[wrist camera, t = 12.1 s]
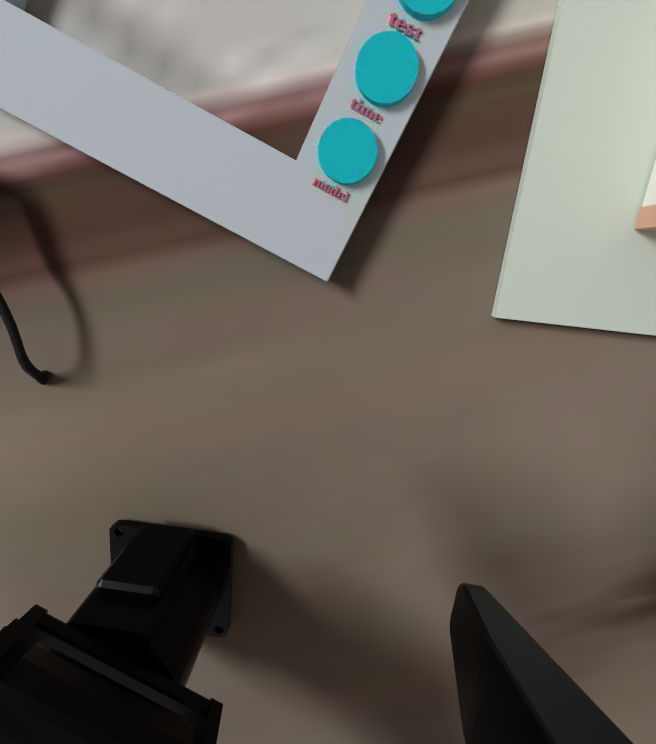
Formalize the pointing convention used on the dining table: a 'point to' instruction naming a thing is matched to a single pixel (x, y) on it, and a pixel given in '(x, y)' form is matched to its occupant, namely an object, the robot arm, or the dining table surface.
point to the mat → (588, 177)
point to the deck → (648, 206)
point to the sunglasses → (20, 345)
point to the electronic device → (229, 144)
